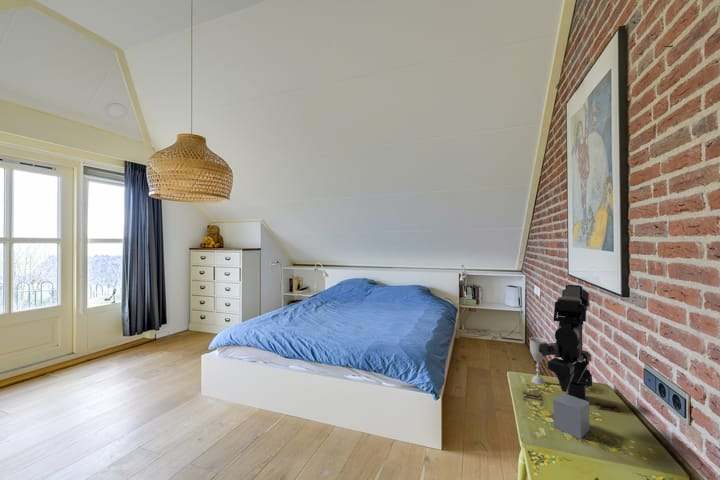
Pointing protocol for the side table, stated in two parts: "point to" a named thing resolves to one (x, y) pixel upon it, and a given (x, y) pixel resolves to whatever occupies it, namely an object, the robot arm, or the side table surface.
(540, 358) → the chalice
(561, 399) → the grey block
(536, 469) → the side table surface
